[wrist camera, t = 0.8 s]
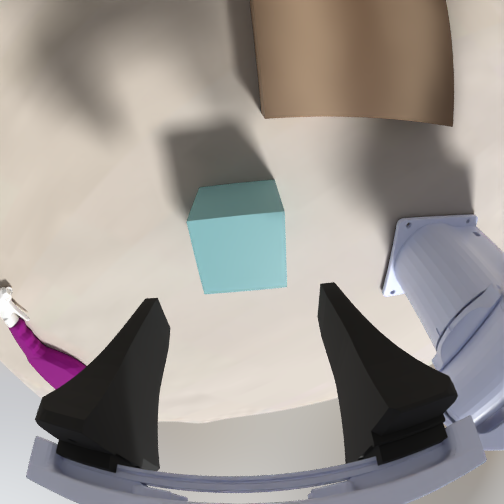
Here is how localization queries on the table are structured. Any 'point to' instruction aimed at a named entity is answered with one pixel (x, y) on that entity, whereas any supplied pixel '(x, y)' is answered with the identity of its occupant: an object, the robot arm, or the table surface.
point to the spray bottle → (37, 345)
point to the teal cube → (239, 237)
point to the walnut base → (354, 59)
